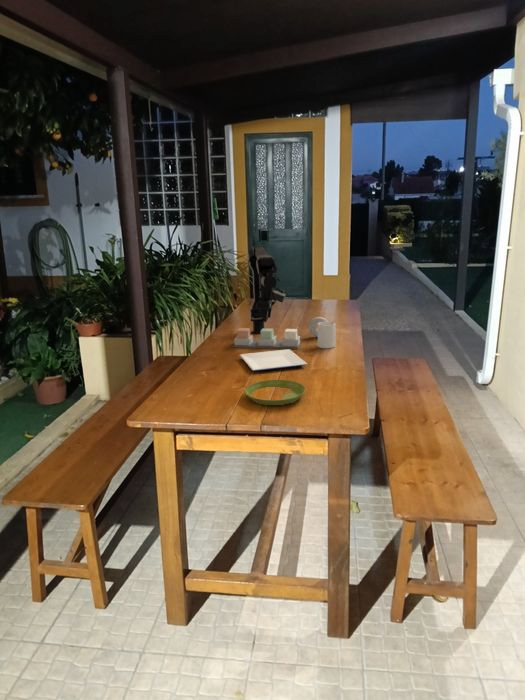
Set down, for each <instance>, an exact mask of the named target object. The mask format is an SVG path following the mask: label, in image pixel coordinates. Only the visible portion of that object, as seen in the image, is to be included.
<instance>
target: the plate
mask: <svg viewBox="0 0 525 700" xmlns="http://www.w3.org/2000/svg"><path fill="white" fill-rule="evenodd" d="M239 356H240V358H241V359H242V360H243V361H244V362H245V363H246V365H248V367H249V368H250V369H251V370H252V371H253V372H255V371H256V372H257V371H258V372H259V371H266V370H275V369H281V368H282V369H283V368H292V367H300V366H301V367H302V366H307V364H308V363H307V362H306V361H305V360H304V359H302V358H301V357H300V356H298V355H297V354H296V353H294V351H293V350H292V349H277V350H268V351H259V352H251V353H249V352H248V353H240V354H239Z"/></svg>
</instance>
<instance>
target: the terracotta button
mask: <svg viewBox="0 0 525 700" xmlns="http://www.w3.org/2000/svg"><path fill="white" fill-rule="evenodd" d="M250 335H251V328H250V327H249V328H248V327H238V329H237V330H236V337H237V338H246V339H248V338H249V337H250Z"/></svg>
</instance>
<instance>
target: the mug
mask: <svg viewBox="0 0 525 700" xmlns="http://www.w3.org/2000/svg"><path fill="white" fill-rule="evenodd" d="M317 330H318V337H317V347H318V348H321V349H332V348H335V347H336V322H334V321H328V320H327V321H326V322H319V323H318V324H317Z"/></svg>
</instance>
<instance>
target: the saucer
mask: <svg viewBox="0 0 525 700" xmlns="http://www.w3.org/2000/svg"><path fill="white" fill-rule="evenodd" d="M266 387H280V388H287V389H291V391H293V392H291V391H290V392H291V393H288V394H287V392H286V394H285V395H284V397H282V400H263V399H257V398H254V397H251V395H252V394H253V392H254V391H256V390H258V389H261V388H266ZM305 392H306V386H304V385H303V384H302V383H301V382H297V381H294V380H287V379H270V380H269V379H268V380H262V381H257V382H254V383H251V384H249V385H248V386H247V387H246V388H244V393H245V395H246V396H247V398H249V399H250V400H251V401H252V402H254V403H255V402H256V403H255V404H258V403H259V404H258V405H261V404H265V405H264V406H267V405H281V406H286V405H285V404H287V405H290V404H289V403H291V404H293V403H295V402H297V401H298V400H299V399H300V398H301V399H302V397H303V396H304V394H305ZM282 396H283V395H282Z"/></svg>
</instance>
